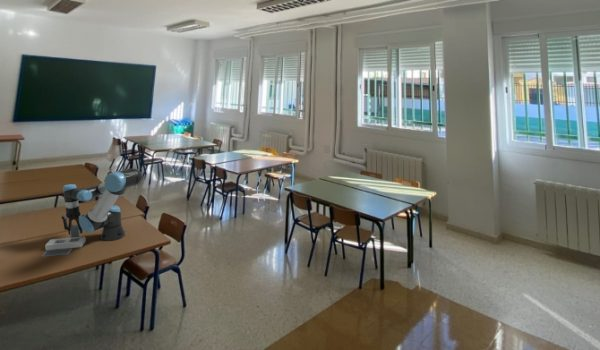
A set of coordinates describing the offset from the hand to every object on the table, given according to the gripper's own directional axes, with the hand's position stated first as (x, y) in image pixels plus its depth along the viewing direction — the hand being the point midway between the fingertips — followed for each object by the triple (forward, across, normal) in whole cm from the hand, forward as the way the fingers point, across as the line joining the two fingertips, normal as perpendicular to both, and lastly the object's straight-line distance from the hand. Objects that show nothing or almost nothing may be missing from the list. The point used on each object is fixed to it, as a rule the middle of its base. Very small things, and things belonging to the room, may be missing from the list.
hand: (76, 237), depth 220 cm
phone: (+1, +5, +20) cm, 21 cm away
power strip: (+1, +3, +10) cm, 10 cm away
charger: (+1, 0, 0) cm, 1 cm away
